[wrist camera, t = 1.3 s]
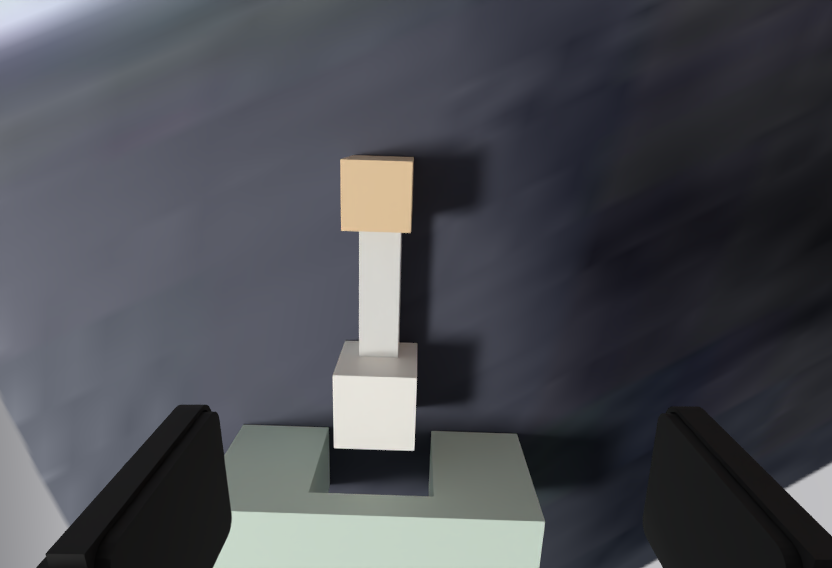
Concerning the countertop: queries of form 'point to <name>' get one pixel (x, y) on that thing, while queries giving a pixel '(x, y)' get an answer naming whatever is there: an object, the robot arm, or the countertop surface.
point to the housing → (379, 507)
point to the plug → (377, 310)
